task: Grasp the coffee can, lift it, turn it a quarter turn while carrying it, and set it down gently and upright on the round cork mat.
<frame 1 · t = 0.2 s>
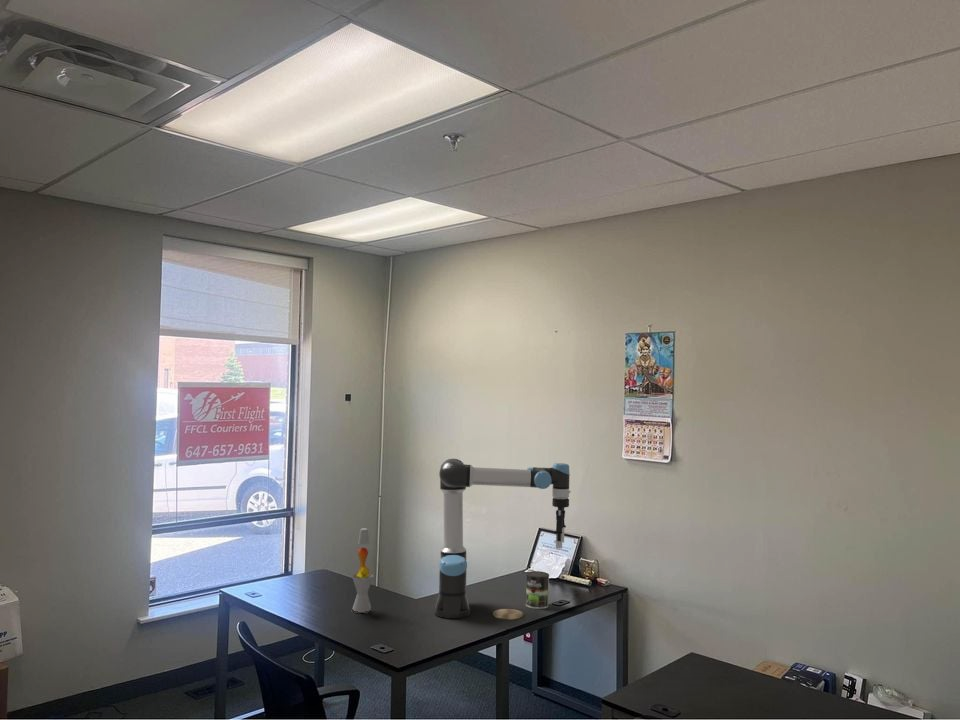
hand: (560, 545, 315), 27 cm above the table, fingers open, 13 cm apart
cork mat: (508, 614, 299), on the table
lava lamp: (361, 611, 301), on the table
coffee can: (537, 606, 313), on the table
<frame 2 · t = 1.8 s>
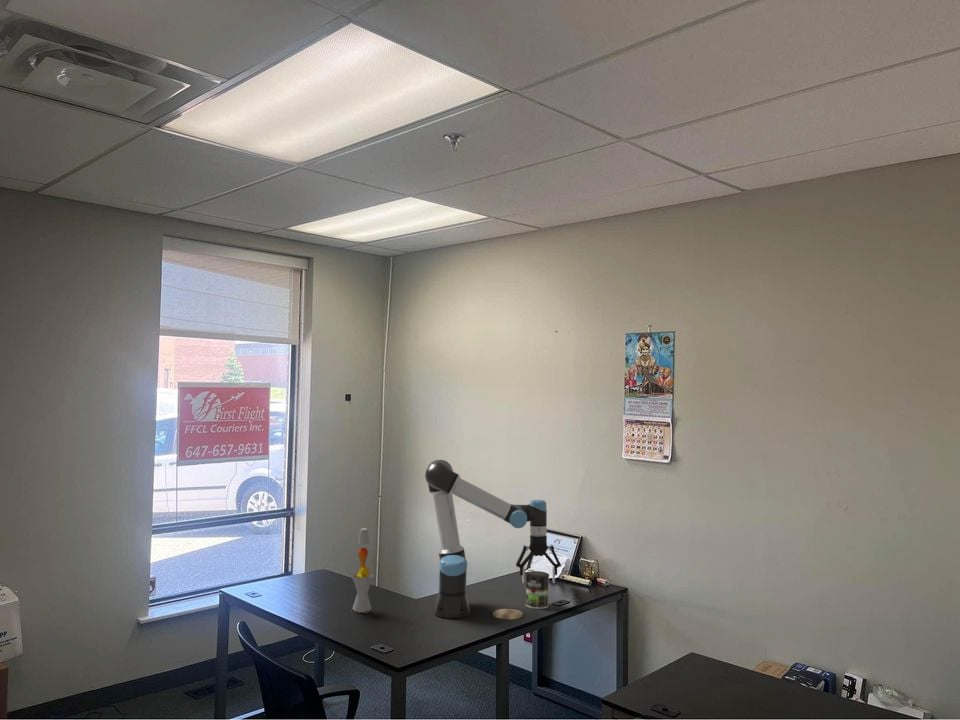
hand: (538, 582, 314), 10 cm above the table, fingers open, 13 cm apart
nothing on the table moved.
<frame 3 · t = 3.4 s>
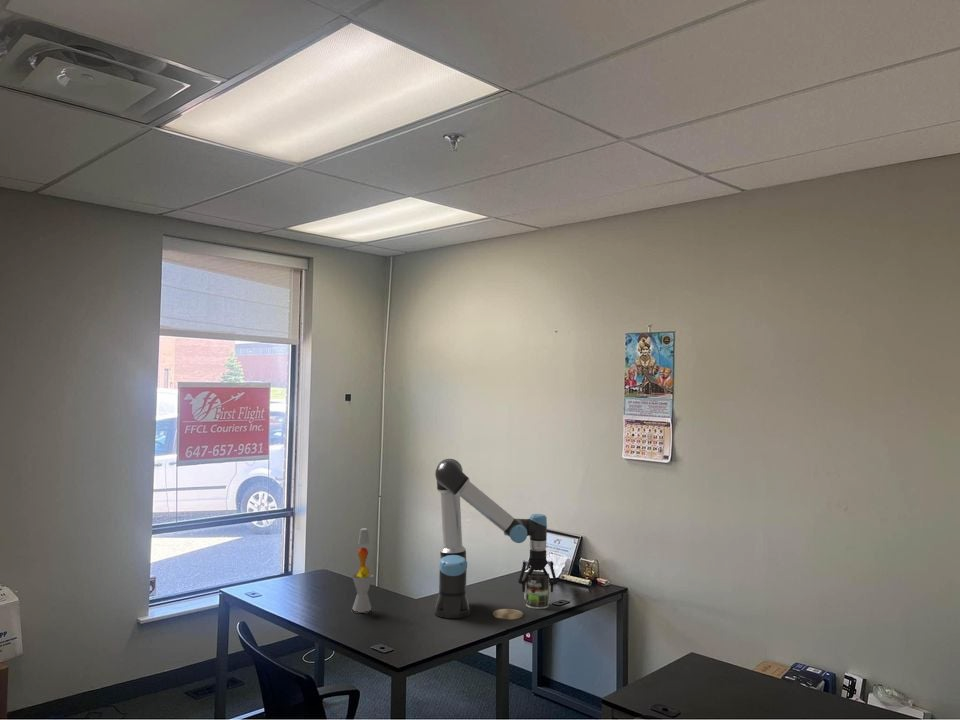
hand: (537, 599, 314), 3 cm above the table, fingers closed on coffee can, 10 cm apart
coffee can: (537, 606, 313), on the table, touching gripper
everything else where it was.
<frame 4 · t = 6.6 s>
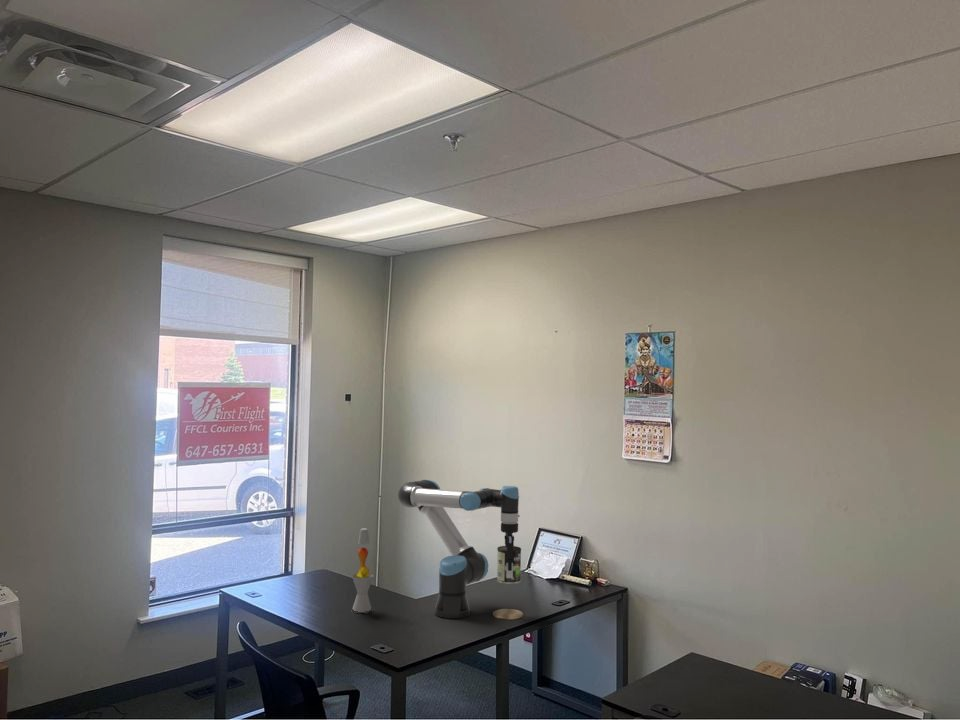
hand: (508, 574, 300), 17 cm above the table, fingers closed on coffee can, 10 cm apart
coffee can: (508, 581, 300), point 14 cm above the table, touching gripper
everything else where it was.
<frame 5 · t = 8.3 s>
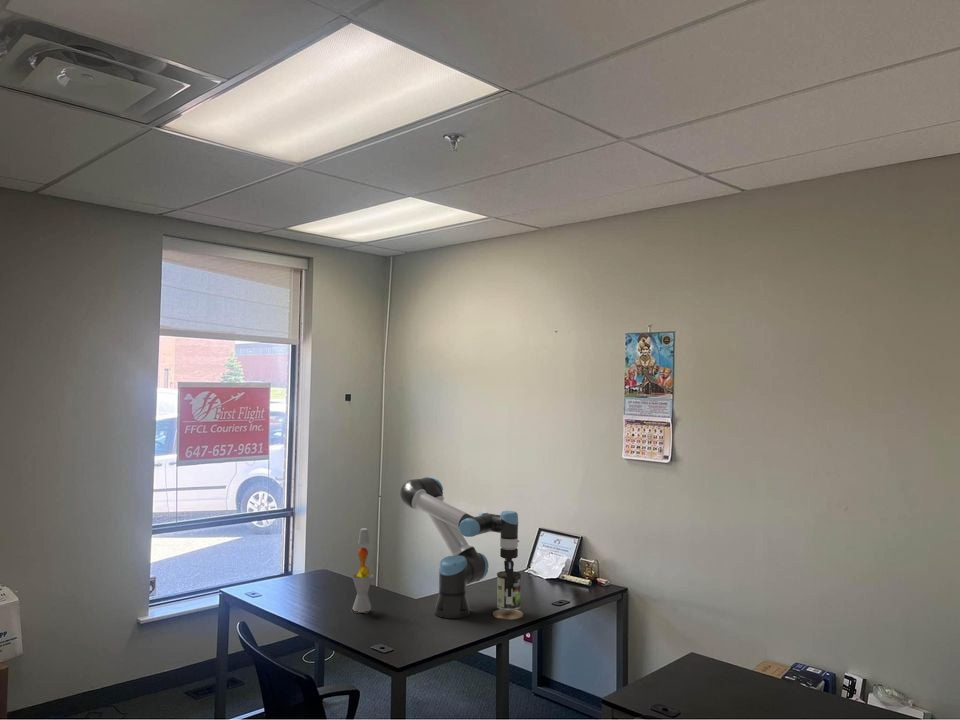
hand: (508, 600, 300), 6 cm above the table, fingers closed on coffee can, 10 cm apart
coffee can: (508, 607, 299), point 3 cm above the table, touching gripper
everything else where it was.
when the fingers open (4 cm above the table, at t = 9.7 s): coffee can stays where it is, resting on cork mat.
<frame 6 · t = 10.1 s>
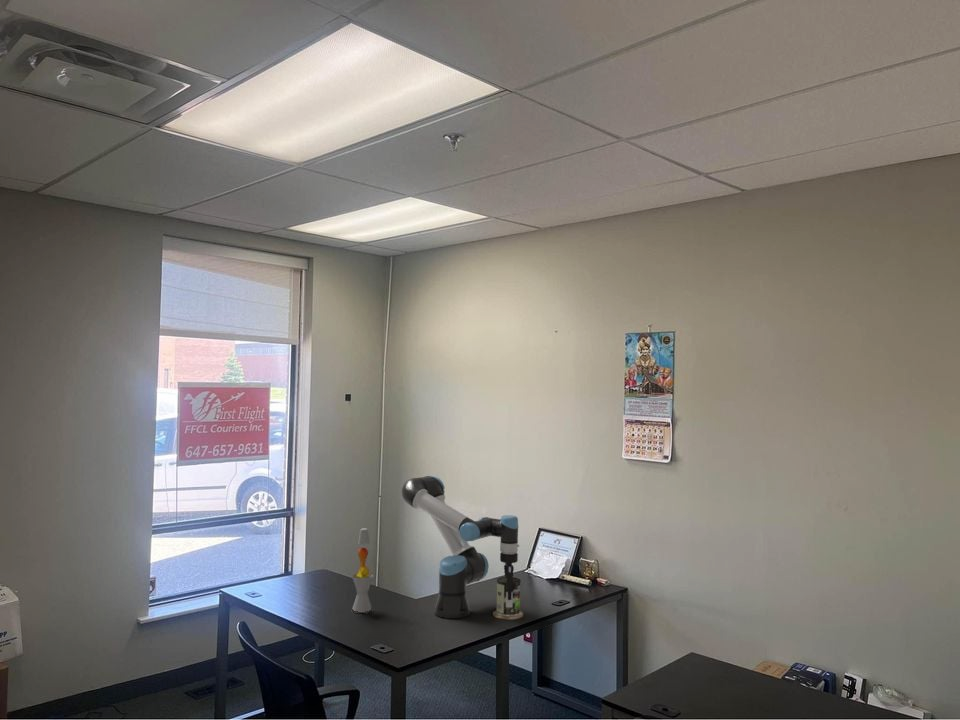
hand: (508, 602, 300), 5 cm above the table, fingers open, 13 cm apart
coffee can: (508, 613, 300), point 1 cm above the table, touching cork mat
everything else where it was.
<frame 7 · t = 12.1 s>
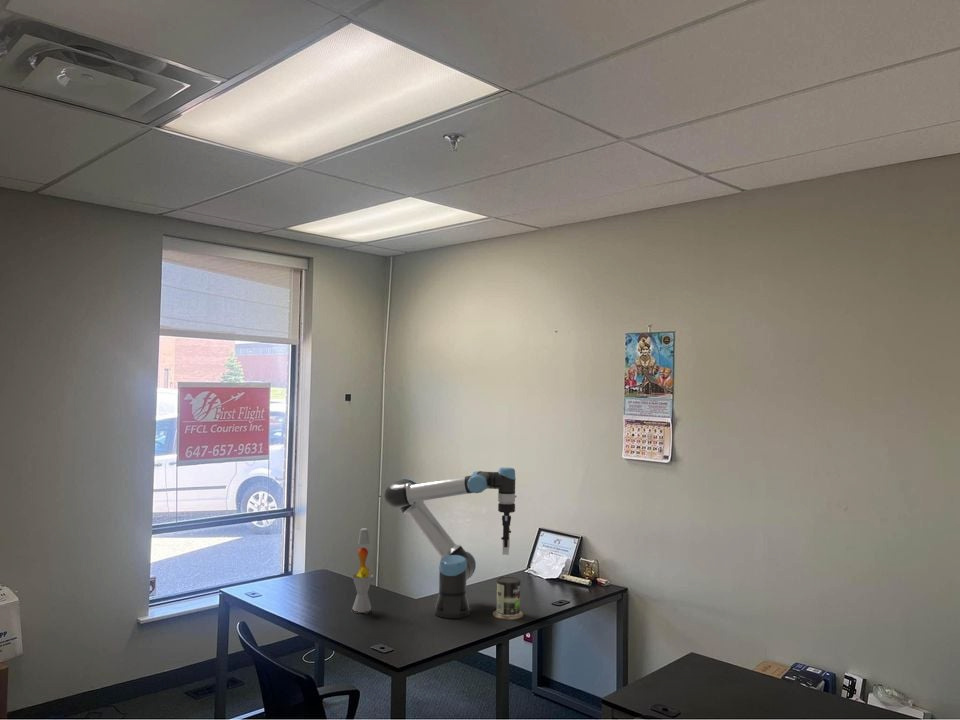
hand: (506, 551, 310), 25 cm above the table, fingers open, 13 cm apart
nothing on the table moved.
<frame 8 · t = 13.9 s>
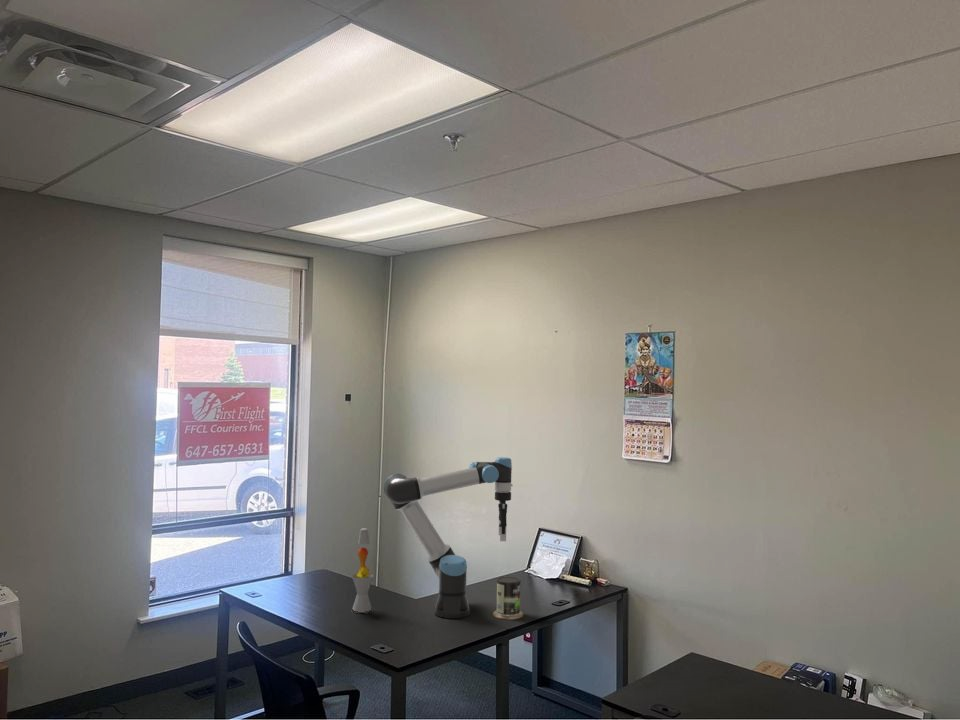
hand: (502, 538, 320), 29 cm above the table, fingers open, 13 cm apart
nothing on the table moved.
at the end: coffee can 0.2 cm from the cork mat (horizontally); coffee can tilted 0°; coffee can point 0.5 cm above the table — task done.
